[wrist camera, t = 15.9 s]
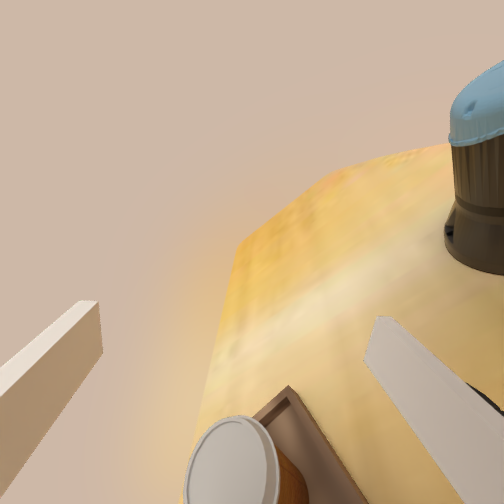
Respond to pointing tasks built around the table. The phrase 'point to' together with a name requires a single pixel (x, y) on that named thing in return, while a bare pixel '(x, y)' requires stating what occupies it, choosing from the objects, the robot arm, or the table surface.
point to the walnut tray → (308, 450)
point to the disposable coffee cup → (241, 467)
